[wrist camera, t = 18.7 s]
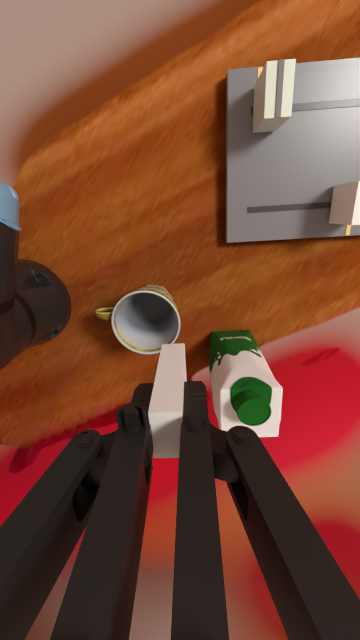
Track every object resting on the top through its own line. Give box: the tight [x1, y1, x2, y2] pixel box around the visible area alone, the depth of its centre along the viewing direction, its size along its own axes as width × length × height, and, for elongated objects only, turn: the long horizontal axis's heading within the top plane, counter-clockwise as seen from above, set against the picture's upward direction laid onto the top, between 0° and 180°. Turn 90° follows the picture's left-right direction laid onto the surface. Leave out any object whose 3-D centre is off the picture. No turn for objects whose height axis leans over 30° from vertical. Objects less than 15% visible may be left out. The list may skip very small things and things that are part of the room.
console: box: [225, 58, 360, 243], centre depth 38 cm, size 22×21×2 cm
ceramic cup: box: [94, 285, 181, 355], centre depth 43 cm, size 13×10×10 cm
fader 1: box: [253, 59, 296, 133], centre depth 32 cm, size 3×5×6 cm, turn 3°
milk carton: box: [209, 330, 283, 437], centre depth 41 cm, size 9×9×20 cm
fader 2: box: [329, 181, 360, 225], centre depth 36 cm, size 3×5×6 cm, turn 3°
